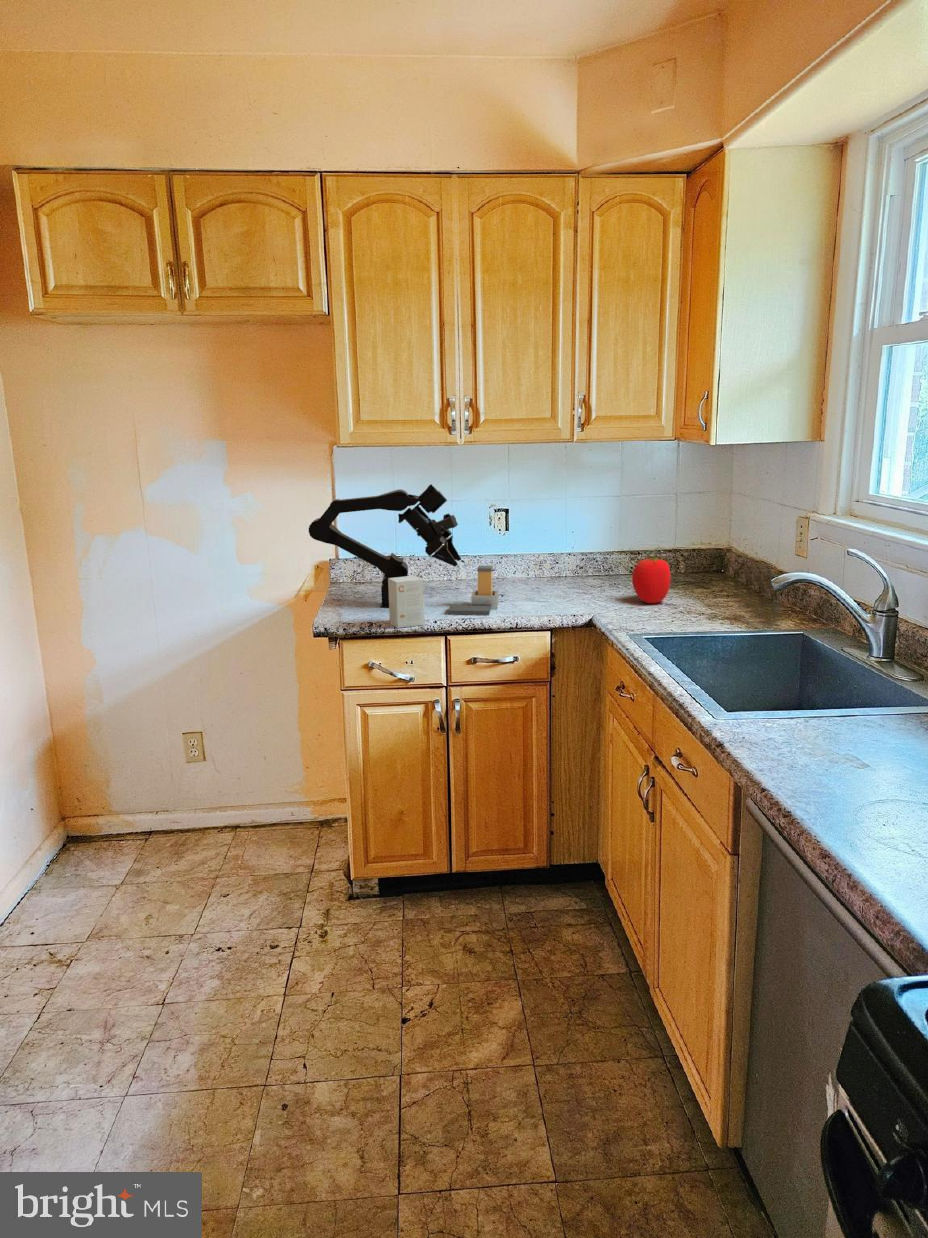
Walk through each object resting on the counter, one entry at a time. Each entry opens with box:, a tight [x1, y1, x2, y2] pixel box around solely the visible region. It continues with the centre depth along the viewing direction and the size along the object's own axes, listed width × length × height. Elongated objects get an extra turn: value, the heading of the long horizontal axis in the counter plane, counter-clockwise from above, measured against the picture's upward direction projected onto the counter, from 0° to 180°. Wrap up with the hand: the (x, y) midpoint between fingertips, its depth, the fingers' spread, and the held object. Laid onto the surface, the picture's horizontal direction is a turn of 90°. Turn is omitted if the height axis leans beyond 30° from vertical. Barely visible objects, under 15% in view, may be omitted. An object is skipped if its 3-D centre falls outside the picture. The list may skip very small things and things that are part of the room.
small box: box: [388, 575, 425, 629], centre depth 230 cm, size 8×6×13 cm
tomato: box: [631, 555, 672, 604], centre depth 254 cm, size 13×11×14 cm
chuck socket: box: [470, 589, 500, 610], centre depth 252 cm, size 8×8×4 cm
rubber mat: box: [447, 604, 492, 616], centre depth 245 cm, size 12×6×1 cm, turn 84°
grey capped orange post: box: [476, 565, 493, 595], centre depth 251 cm, size 4×4×12 cm
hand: (458, 562), depth 250 cm, fingers open, 9 cm apart
